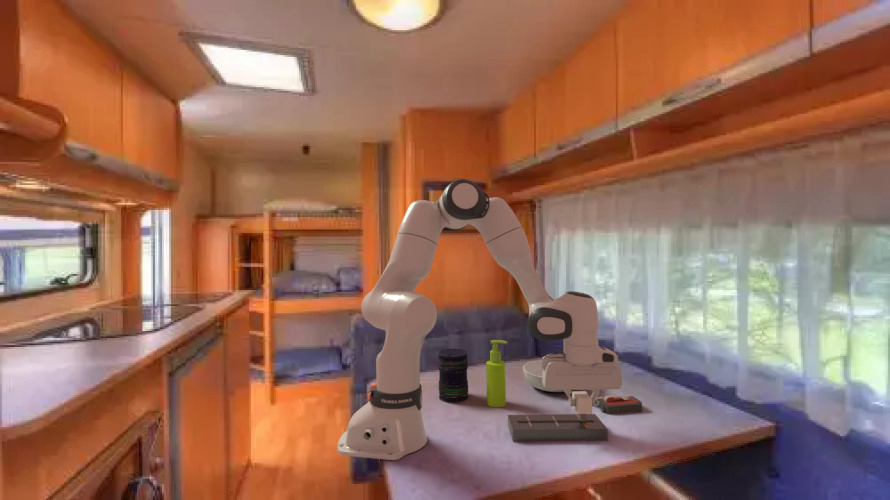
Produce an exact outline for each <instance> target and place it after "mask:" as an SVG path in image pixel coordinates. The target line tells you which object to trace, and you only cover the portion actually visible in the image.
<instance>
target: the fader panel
mask: <svg viewBox="0 0 890 500" xmlns="http://www.w3.org/2000/svg"><path fill="white" fill-rule="evenodd" d="M507 426H508V430H509V433H510V437H511V440H512V442H584V441H585V442H589V441H597V442H599V441H609V439H608V438H609V436H608V435H609V434H608V432H609V429H608V427H606V425H605V424H604V423H603V422H602V420H601V419H600V418H599V417H598V416H597V415H596V413H592V414H586V421H579V419H578V413H564V414H563V413H562V414H561V413H556V414H553V413H552V414H550V413H549V414H546V413H545V414H543V413H542V414H507Z"/></svg>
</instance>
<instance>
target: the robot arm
mask: <svg viewBox="0 0 890 500" xmlns="http://www.w3.org/2000/svg"><path fill="white" fill-rule="evenodd" d="M468 225H470V226H471V227H473V228H475V229H476V230H477V231H478V233H479V234H480V235H481V237H482V239H483V242H484V244H485V246H486V248H487V250H488V252H489V254H490V255H491V256H492V258H493V260H494V261H495V262H496V263H497V265H498V266H499V267H501V268H502V269H504V270H506V271H507V272H508V273H509V274H510V275H511V276H513V278H514V280H515V282H516V283H517V284H518V287H519V288H520V290H521V292H522V294H523V297H524V298H525V300H526V302H527V305H528V319H527V328H528V331H529V333H530V334H531V335H532V336H533V337H534V338H535V339H537V340H538V341H542V342H553V341H559V340H560V341H561V340H563V341H562V343H563V345H562V346H563V352H562V353H561V352H560V353H547V354H546V355H544V356H543V357H542V358H541V360H542V368H543V376H542V383H543V386H544V387H545V388H546V389H547V390H564V392H563V393H565V395H566V397H567V398H568V405H569V407H573V406H576V399H575V398H573V397H572V392H573V391H583V390H584V391H586V390H587V391H588V390H590V391H592V393H591V395H590V397H591V398H592V407H596V404H595V400H596V398H597V397H598V396H599V395H600V390H619V389H621V387H622V386H623V376H622V375H623V374H622V371H621V369H622V368H621V367H620V365H619V364H618V361H619V355H618V354H617V353H615V352H614V351H612V350H611V349H609V348H606V347H603V346H599V345H600V344H599V339H598V330H599V312H598V306H597V301H596V300H595V299H594V298H593V296H591V295H589V294H587V293H584V292H580V291H572V290H571V291H570V290H569V291H566V292H565V293H564V294H562V295H561V296H559V297H557V298H556V299H553V297H551V296H550V295H549V294H548V292H547V290H546V288H545V286H544V284H543V283H542V281H541V279H540V277H539V275H538V272H537V271H536V268H535V266H534V262H533V258H532V251H531V247H530V243H529V240H528V238H527V234H526V233H525V231H524V228H523V227H522V224H521V222H520V220H519V219H518V217H517V215H516V214H515V213H514V211H513V209H512V208H511V207H510V205H509V204H508V203H507V202H506V200H504V199H503V198H501V197H495V196H494V197H489V195H488V194H487V193H486V192H485V191H484V190H482V189H481V188H480V186H479V185H478V184H477V183H476V182H473V180H470V179H465V178H461V179H460V178H459V179H457V180H454V181H452V182H451V183H449V184H448V185H447V186H446V187H445V188H444V190H443V193H442V194H441V195H440V197H439V198H438V200H435V201H430V200H425V199H420V200H419V199H418V200H415V201H413V202H411V204H409V206H408V208H407V210H406V211H405V214H404V215H403V218H402V221H401V223H400V225H399V227H398V231H397V234H396V238H395V241H394V244H393V247H392V250H391V254H390V256H389V257H390V258H389V260H388V261H387V265H386V267H385V269H384V270H383V272H382V274H381V275H380V278H379V279H378V280H377V282H376V284H375V286H374V287H373V289H372V290H371V291H369V292H368V293H367V294H366V295H365V296H364V298H363V300H362V301H361V306H360V308H361V313H362V316H363V318H364V320H366V322H368V324H370V326H373V327H374V328H376V329H379V330H382V331H385V339H384V343H383V347H382V350H381V351H379V353H378V354H377V356H376V359H375V360H376V361H375V363H376V364H375V365H376V366H375V367H376V369H375V370H376V371H375V372H376V382H373V383H372V384H371V385H370V387H369V390H368V402H367V403H365V404H364V405H362V407H360V408H359V409H357V411H355V412H354V414H353V415H351V418H350V420H349V422H348V425H347V429H346V430H345V431H344V432H343V434H341V436H340V438H339V439H338V442H337V447H336V448H337V453H338V454H339V455H340V456H347V457H357V458H366V459H367V458H369V459H375V460H376V459H378V460H388V461H398V460H401V458H403V457H404V456H406V455H408V454H411V453H414V452H416V451H419V450H420V449H421V448H423V447H424V446H426V444H427V442H428V436H427V432H426V430H425V425H424V420H423V412H422V407H423V389H422V384H421V383H420V382H421V377H420V375H421V373H420V372H421V363H420V362H421V352H422V347H423V345H424V342H425V338H426V337H427V335H428V334H429V333H430V332H431V331H432V330H433V328H434V327H435V325H436V323H437V317H438V312H437V306H436V305H435V303H434V302H433V301H432V299H430V298H428V297H427V296H425V295H423V294H421V293H419V292H416V291H415V290H416V289H417V288H418V286H419V284H420V283H421V282H422V281H423V280H424V279H425V278H427V277H428V276H429V274H430V272H431V270H432V266H433V262H434V258H435V255H436V251H437V247H438V243H439V239H440V237H441V234H442V231H443V232H445V231H447V232H448V231H450V232H456V231H461V230H463V229H465V228H466V227H467V226H468Z"/></svg>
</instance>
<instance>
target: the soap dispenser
mask: <svg viewBox="0 0 890 500" xmlns="http://www.w3.org/2000/svg"><path fill="white" fill-rule="evenodd" d="M508 343H509V342H508V341H506V340H503V339H502V340H501V339H493V340H490V344H491V345H492V349H491V350H490V351H489V360H488V361H486V364H485V365H486V366H485V367H486V374H485V375H486V376H485V377H486V405H487V406H489V407H491V408H503V407H505V406H506V405H507V404H506V403H507V401H506V400H507V398H506V396H507V395H506V361H504V360H502V354H501V353H502V351H501V350H499V344H503V345H508Z"/></svg>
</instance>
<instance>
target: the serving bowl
mask: <svg viewBox="0 0 890 500" xmlns="http://www.w3.org/2000/svg"><path fill="white" fill-rule="evenodd" d="M522 371H523V375H524V378H525V380H526V381H527V382H528V383H529V384H530V385H531V386H532V387H535V388H536V389H539V390H541V391H545V392H550V393H565V392H564V390H547V389H546V388H545V387H544V386H543V383H542V376H543V368H542V359H540V360H533V361H529V362H527V363H525V364H524V365H523V366H522Z"/></svg>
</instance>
